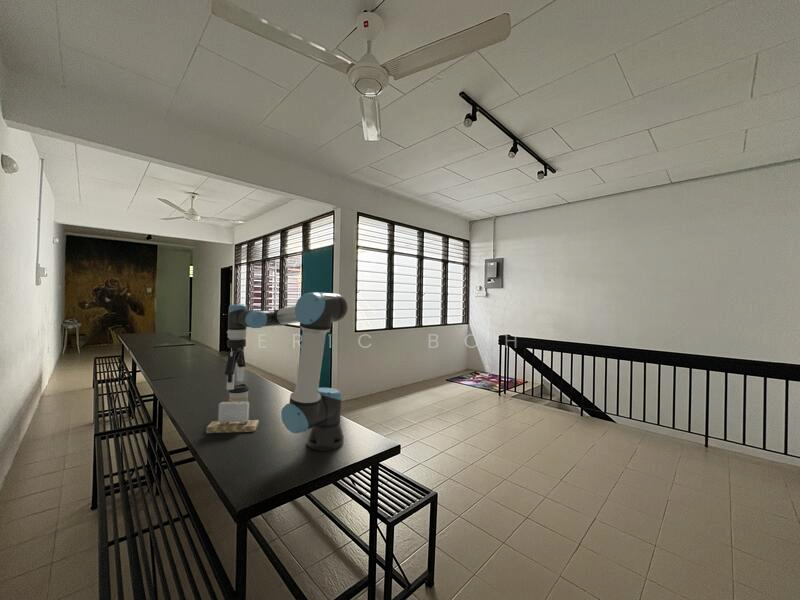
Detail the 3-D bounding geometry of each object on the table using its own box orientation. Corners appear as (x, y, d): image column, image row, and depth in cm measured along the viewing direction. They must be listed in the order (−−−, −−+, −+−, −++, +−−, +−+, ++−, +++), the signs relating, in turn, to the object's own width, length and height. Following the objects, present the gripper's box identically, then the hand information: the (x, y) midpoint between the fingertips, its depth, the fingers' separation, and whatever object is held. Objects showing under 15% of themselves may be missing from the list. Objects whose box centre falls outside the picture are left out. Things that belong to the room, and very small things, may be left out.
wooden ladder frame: (258, 425, 152) (258, 419, 152) (254, 431, 145) (254, 426, 145) (212, 426, 148) (212, 421, 148) (206, 432, 141) (206, 427, 141)
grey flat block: (248, 427, 149) (249, 401, 149) (246, 430, 146) (247, 403, 146) (220, 427, 147) (221, 401, 147) (217, 430, 144) (218, 404, 144)
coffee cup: (239, 419, 157) (240, 389, 157) (223, 417, 159) (224, 387, 159) (251, 412, 166) (252, 384, 166) (236, 410, 168) (237, 382, 168)
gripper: (236, 334, 157) (235, 377, 158) (217, 342, 133) (215, 393, 133) (253, 335, 159) (251, 377, 159) (237, 342, 134) (235, 393, 135)
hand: (235, 385), depth 146 cm, fingers open, 13 cm apart
